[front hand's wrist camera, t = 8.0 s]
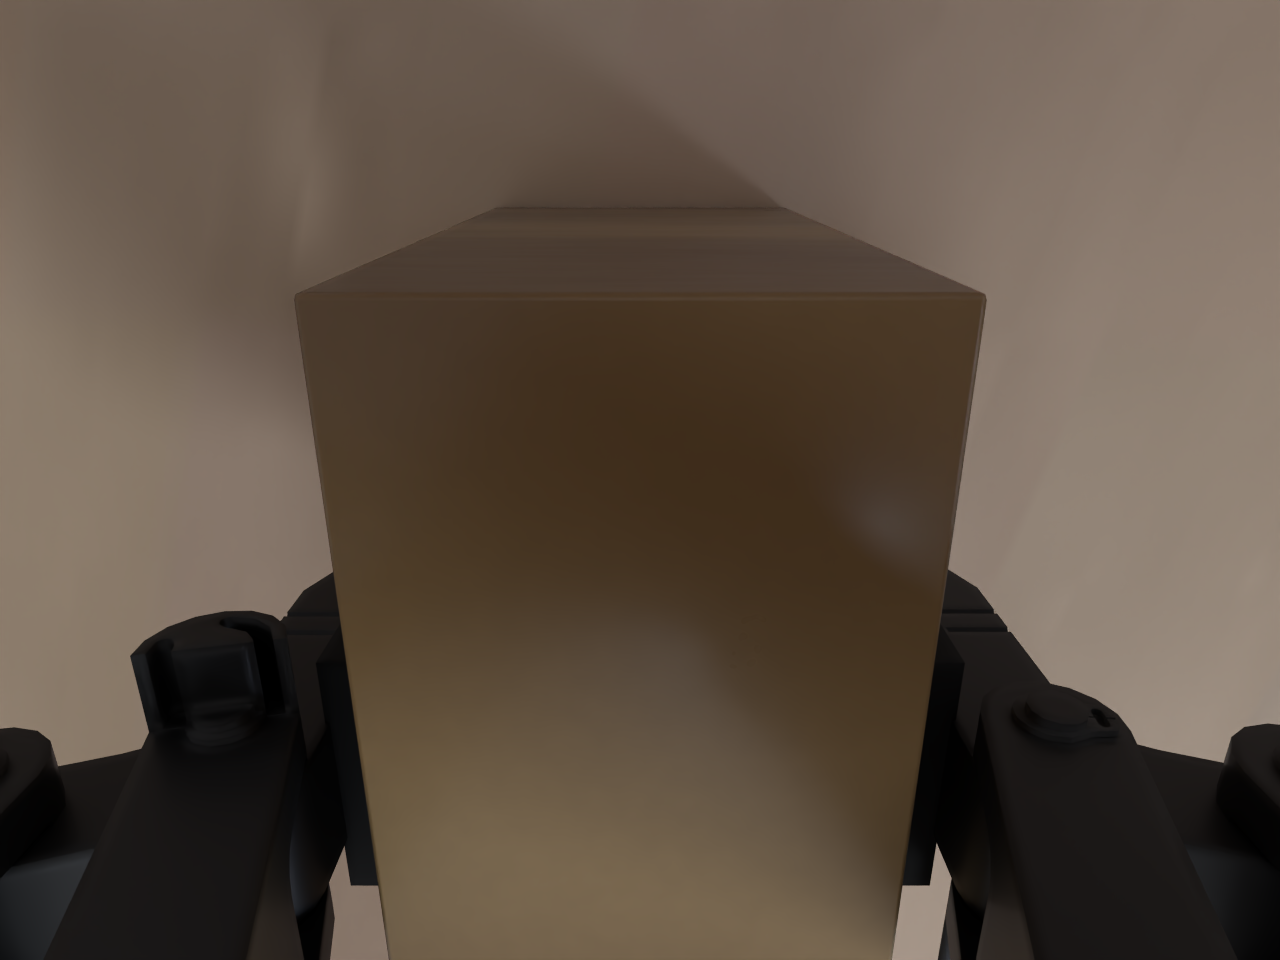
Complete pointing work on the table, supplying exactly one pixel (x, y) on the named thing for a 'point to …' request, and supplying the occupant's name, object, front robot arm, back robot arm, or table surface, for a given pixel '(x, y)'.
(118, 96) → the table surface
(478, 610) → the beam
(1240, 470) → the table surface
